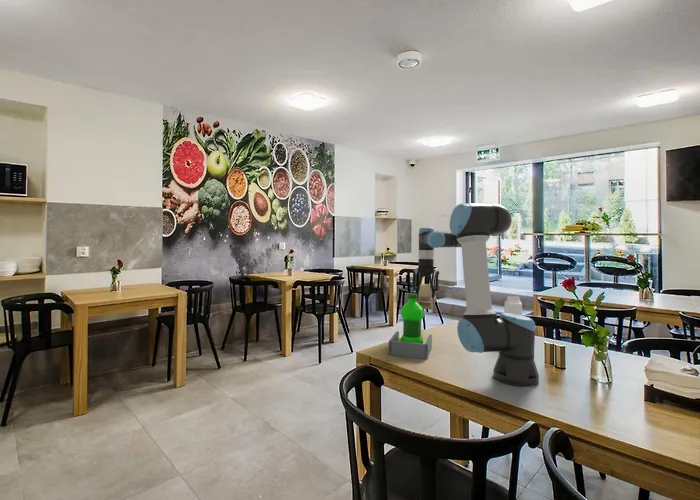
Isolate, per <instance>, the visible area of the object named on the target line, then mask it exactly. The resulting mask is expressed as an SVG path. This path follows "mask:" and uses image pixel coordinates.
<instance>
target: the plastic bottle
mask: <svg viewBox="0 0 700 500" xmlns="http://www.w3.org/2000/svg"><path fill="white" fill-rule="evenodd" d="M407 299H408V301H407V302H406V303H405V304H404V305H403V306H401V308H400V317H401V318H402V319H403V320H402V321H403V322H402V327H403V328H402V330H403V332H402V335H401V337H400V341H402V342H412V343H421V344H424V340H423V337H422V320H423V319H424V316H425V309H423V308H422V307H421V306H420V305H419V304H418V303H417V302H416V299H418V297H417V293H407Z"/></svg>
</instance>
